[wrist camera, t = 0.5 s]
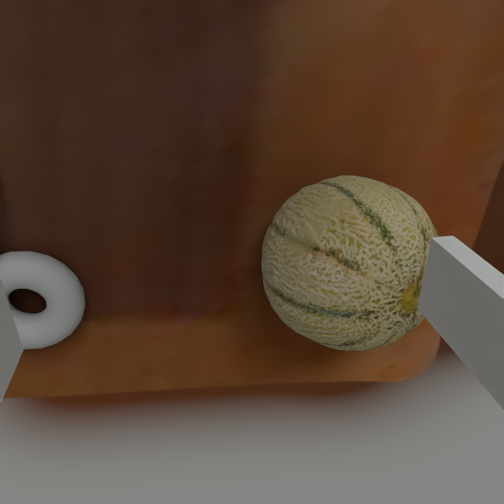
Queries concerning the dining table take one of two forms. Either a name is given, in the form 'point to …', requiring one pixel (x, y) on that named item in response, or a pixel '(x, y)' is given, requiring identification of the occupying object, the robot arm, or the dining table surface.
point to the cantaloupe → (348, 262)
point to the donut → (48, 286)
